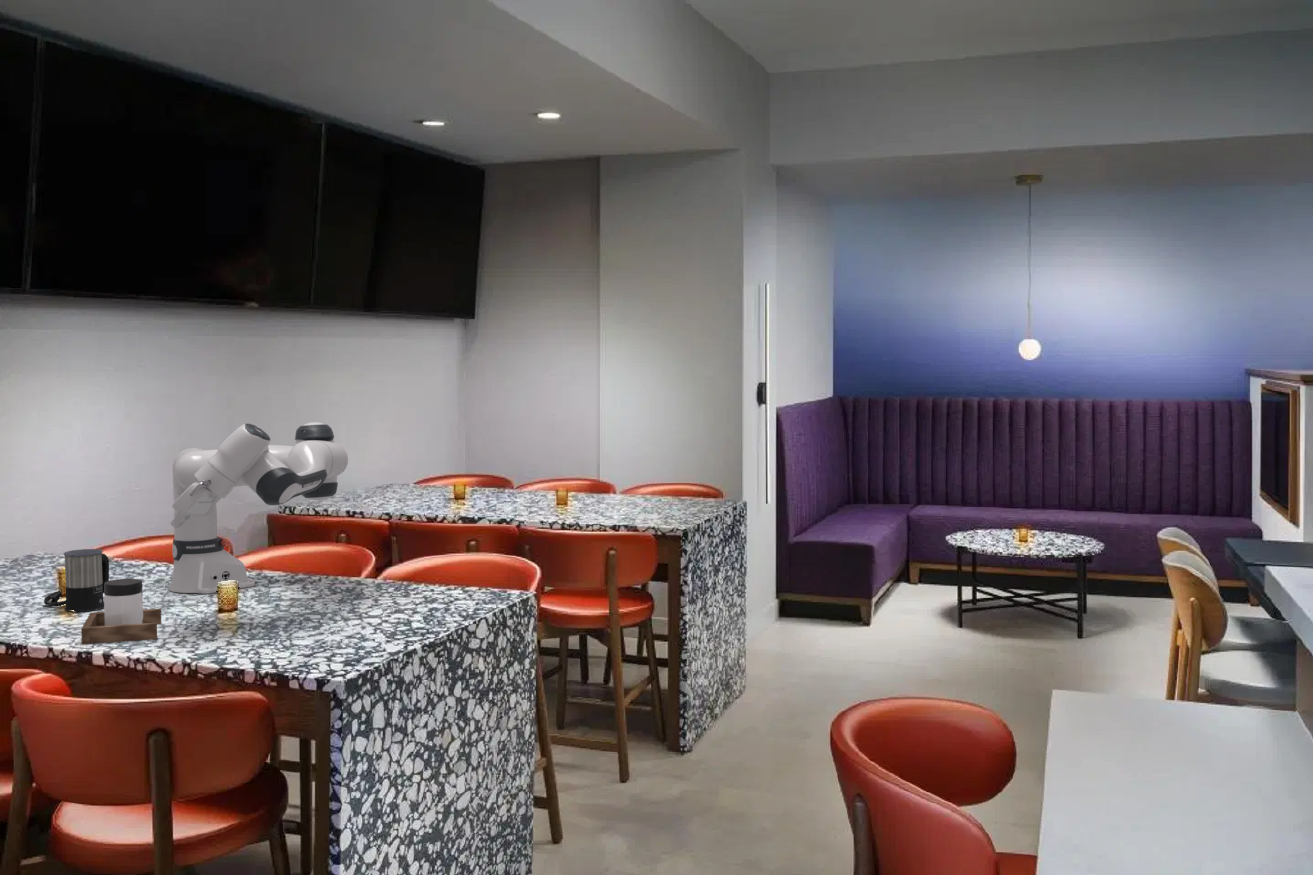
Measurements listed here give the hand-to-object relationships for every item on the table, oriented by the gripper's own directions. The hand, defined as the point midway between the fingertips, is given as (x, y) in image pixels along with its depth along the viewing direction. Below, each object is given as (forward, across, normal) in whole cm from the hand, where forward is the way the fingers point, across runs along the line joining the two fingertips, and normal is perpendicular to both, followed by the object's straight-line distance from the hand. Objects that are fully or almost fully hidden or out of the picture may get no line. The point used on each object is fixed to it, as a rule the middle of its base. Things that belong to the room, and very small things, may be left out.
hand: (174, 525), depth 272 cm
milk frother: (+37, +29, +11) cm, 48 cm away
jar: (+26, 0, -8) cm, 27 cm away
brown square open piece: (+26, -1, -8) cm, 27 cm away
